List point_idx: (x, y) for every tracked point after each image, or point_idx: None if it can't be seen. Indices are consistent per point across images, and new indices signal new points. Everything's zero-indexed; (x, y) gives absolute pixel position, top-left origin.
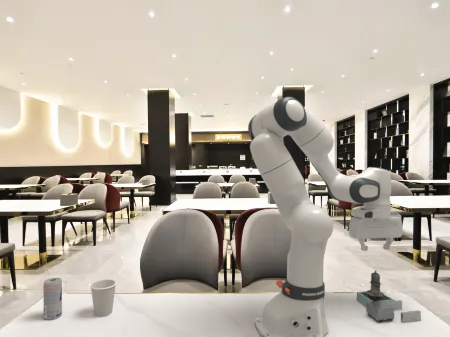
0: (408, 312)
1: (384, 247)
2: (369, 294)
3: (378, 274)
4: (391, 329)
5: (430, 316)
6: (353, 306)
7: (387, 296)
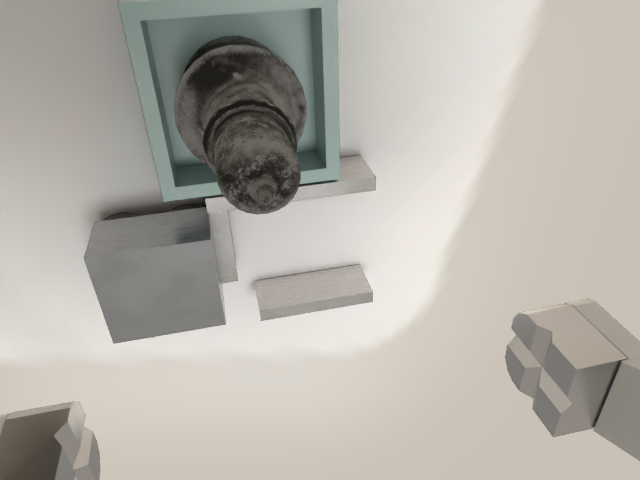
0: (300, 311)
1: (530, 351)
2: (180, 131)
3: (278, 205)
4: (161, 337)
5: (438, 242)
6: (54, 93)
7: (330, 119)
